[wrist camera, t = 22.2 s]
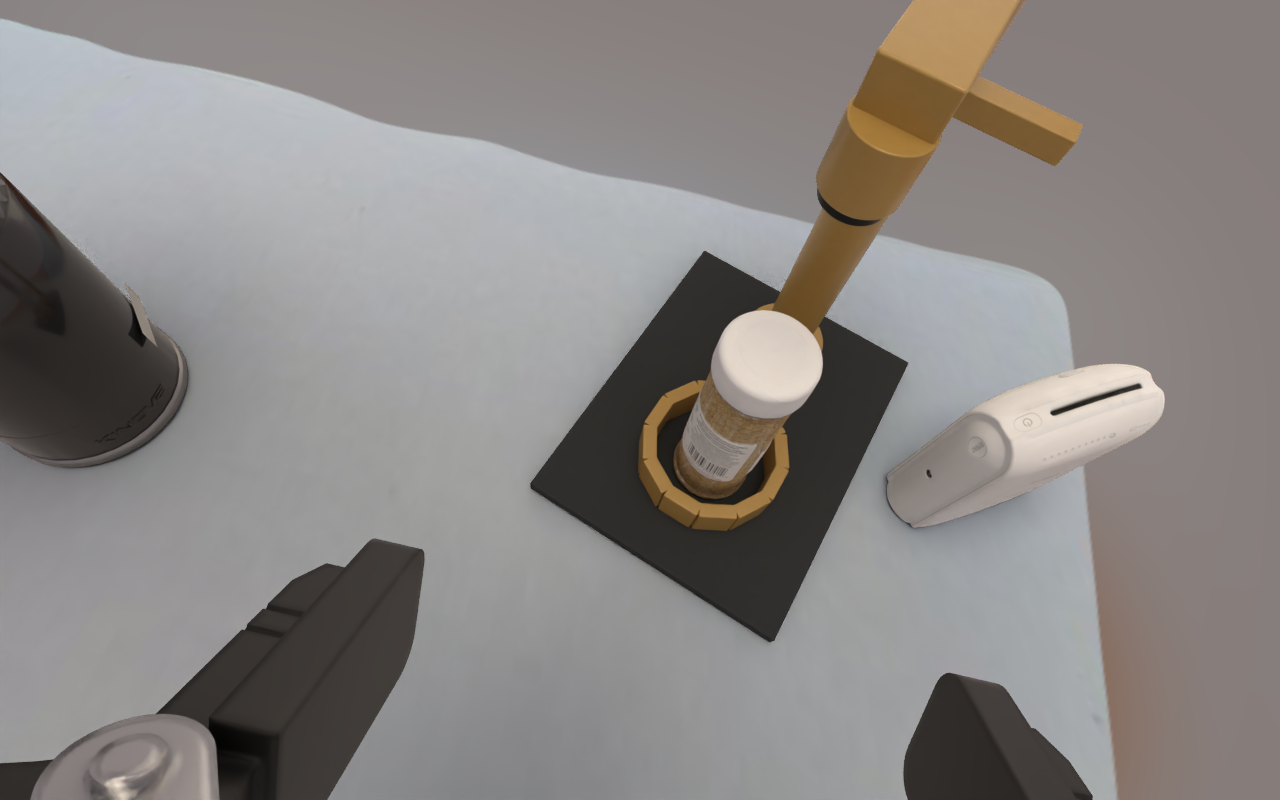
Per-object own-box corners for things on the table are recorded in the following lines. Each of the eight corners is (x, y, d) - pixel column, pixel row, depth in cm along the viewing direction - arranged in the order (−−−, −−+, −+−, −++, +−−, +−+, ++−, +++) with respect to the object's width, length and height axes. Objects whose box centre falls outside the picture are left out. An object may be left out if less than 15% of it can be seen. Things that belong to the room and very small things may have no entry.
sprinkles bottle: (760, 475, 40) (848, 367, 28) (701, 516, 38) (767, 419, 26) (714, 417, 41) (779, 289, 29) (655, 454, 39) (697, 335, 27)
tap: (611, 480, 38) (694, 66, 14) (742, 289, 46) (942, -199, 22) (761, 574, 37) (1133, 287, 13) (871, 360, 44) (1243, -78, 20)
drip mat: (530, 488, 38) (529, 483, 38) (702, 257, 48) (704, 250, 47) (769, 642, 36) (774, 640, 35) (903, 368, 45) (908, 362, 44)
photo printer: (904, 540, 40) (1036, 468, 28) (871, 475, 41) (984, 383, 30) (1040, 492, 42) (1211, 408, 31) (1004, 432, 44) (1153, 333, 33)
